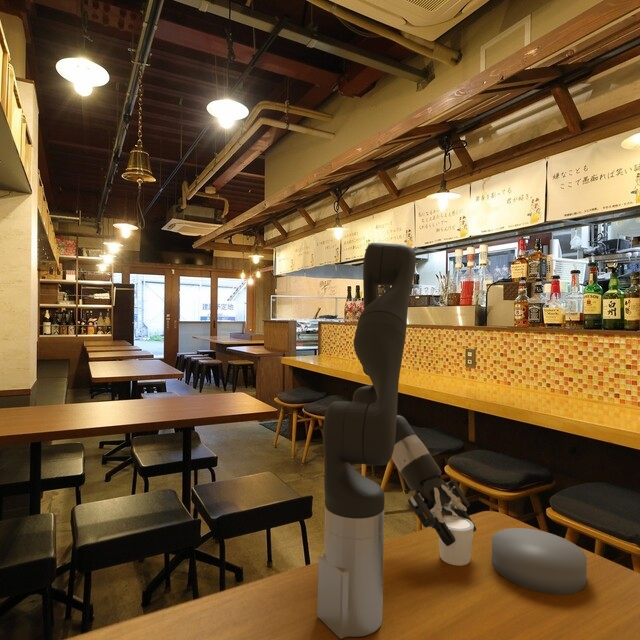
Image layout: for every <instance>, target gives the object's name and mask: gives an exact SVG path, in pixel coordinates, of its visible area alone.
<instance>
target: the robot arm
mask: <svg viewBox="0 0 640 640" xmlns="http://www.w3.org/2000/svg"><path fill="white" fill-rule="evenodd" d="M416 260H417V258H416V252H415V249H414V247H412V246H411V245H409V244H404V243H389V242H371V243H369V244H368V245H367V247H366V249H365V253H364V256H363V266H362V267H363V268H362V274H363V275H362V278H363V280H362V285H363V310H362V312H361V313H360V314H359V317H358V320H357V324H356V329H355V332H354V338H353V350H354V352H355V355H356V358H357V359H358V361H359V363H360V365H361V367H362V371H363V374H365V375H366V376H368V377H369V379H370V381H371V383H372V384H370V385H364V386H361V387H359V388H357V389H356V390H355V391H354V393H353V395H352V401H345V400H337V401H336V400H335V401H333V402H331V403H330V404H329V405H328V406H327V407H326V411H325V414H324V418H323V427H322V428H323V429H322V437H323V438H322V445H323V468H324V469H323V471H324V473H323V474H324V475H323V485H324V486H323V488H324V489H323V490H324V530H323V533H324V534H323V537H324V538H323V553H321V554H320V555H318V561H317V562H318V565H317V566H318V567H317V571H318V572H317V573H318V574H317V615H316V616H317V618H318V619H319V620H321V622H323V623H324V625H326V626H327V627H328V629H330V630H331V631H332V632H333V633H334V634H335V635H336V636H337V637H338V638H339V639H340V640H342V639H344V638H347V637H353V638H356V637H357V638H358V637H359V638H360V637H365V636H369V635H371V634H373V633H375V632H376V631H377V630H379V628H380V627H381V626H382V623H383V608H384V607H383V603H384V602H383V599H384V598H383V597H384V593H383V592H384V551H385V550H384V548H385V547H384V545H385V543H384V542H385V541H384V540H385V539H384V538H385V501H386V500H385V492H384V489H383V487H381V485H379V484H378V482H376V481H374V480H372V479H370V478H368V477H366V476H365V475H363V474H361V473H360V472H358V470H356V469H355V468H354V467H353V466H352V465H351V464H355V465H356V464H359V465H366V466H367V465H369V466H386V465H387V464H389V462H390V461H391V459H392V462H393V463H394V465H395V466H396V468H397V470H398V471H399V473H400V474H401V477H402V478H403V479H404V481H405V483H406V485H407V486H408V488H409V489H410V491H411V492H415V493H414V494H413V495H412V496H411V497H409V498H408V499H407V503H408V504H409V506H410V507H411V508H412V510H413V512H414V514H415V515H416V516H417V518H418V519H419V521H420V522H421V524H422V526H423V527H424V528H428V527H431V528H432V529H434V530H435V531H436V533H437V535H439V536H440V538H441V540H442V541H443V543H444V544H445V545H446V546H449V545H451V544H453V543H454V542H455V538H454V536H453V535H452V533H451V532H450V530H449V528H448V527H447V525H446V524H445V522H444V523H442V522H443V519H442V516H443V514H442V511H443V509H445V510H446V511H449V512H451V513H452V515H454V516H460V517H463V518H466V519H468V520H470V521H471V522H472V523H473V525H474V530H473V533H475V532H476V531H477V527H476V525H475V523H474V522H473V520H472V519H471V517H470V516H469V514H468V513H467V511H468V510H467V508H468V507H470V502H469V500H467V499H468V498H467V497H466V496H465V494H464V492H463V491H462V489H461V488H460V486H459V485H458V483H457V482H456V480H455V479H454V478H453V479H451V480H449V481H448V482H445V481H444V480H443V479H442V477H441V474H442V470H441V468H440V467H439V465H438V464H437V462H436V461H435V459H434V458H433V456H432V454H431V453H430V451H429V450H428V448H427V447H426V445H425V444H424V443H423V441H421V439H420V438H419V437H418V435H417V433H415V431H414V430H413V428H412V426H411V425H410V423H409V422H408V420H407V419H406V417H404V416H402V415H398V398H399V386H400V385H399V382H400V374H401V367H402V360H403V355H404V351H405V344H406V343H405V342H406V334H407V327H408V326H407V325H408V310H409V301H410V296H411V291H412V287H413V283H414V282H413V281H414V277H415V272H416V263H417V261H416ZM378 286H386V287H389V288H388V289H387V290H386V291H385V292H383V293H382V294H380V295H379V296H378ZM459 499H460V500H461V502H460V500H459ZM424 514H425V515H424ZM439 536H438V537H439Z"/></svg>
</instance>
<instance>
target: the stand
mask: <svg viewBox="0 0 640 640" xmlns="http://www.w3.org/2000/svg"><path fill="white" fill-rule="evenodd" d="M587 560H588V558H587V555H586V553H585V551H583V550H582V549H581V548H580V547H579V546H578V545H576V544H575V543H573V542H572V541H569V540H567V539H565V538H564V537H561V536H558V535H556V534H554V533H550V532H547V531H543V530H538V529H533V528H527V527H525V528H524V527H509V528H505V529H499V531H497V532H495V533H494V534H493V535H492V538H491V563H492V566H493V568H494V569H495V571H497V572H498V574H500V575H501V576H502V577H504V578H505V580H506V579H507V580H508V581H509V582H512V584H513V583H514V584H515V585H517V586H519V587H522V588H525V589H528V590H531V591H534V592H538V593H542V594H550V595H562V596H563V595H573V594H576V593H579V592H581V591H582V590H584V589H585V587H586V585H587V576H588V575H587V573H588V572H587V571H588V570H587V569H588V568H587V567H588V566H587V565H588V561H587Z"/></svg>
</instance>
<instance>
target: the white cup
mask: <svg viewBox="0 0 640 640" xmlns="http://www.w3.org/2000/svg"><path fill="white" fill-rule="evenodd" d="M442 519H443V522H442V523H444V522H445V524H446V525H447V527H448V528H449V530H450V532H451V533H452V535H453V536H454V538H455V542H454V543H453V544H451V545H449V546H446V545H445V544H444V543H443V541H442V540H441V538H440V536H439V535H438V534H437V535H438V545H439V546H438V547H439V557H440V559H441V560H442V561H443V562H444V563H447V564H449V565H452V566H460V567H462V566H467V565H468V564H469V563H470V561H471V553H472V548H473V547H472V546H473V545H472V544H473V539H474V538H473V537H474V532H473V530H474V525H475V524H474V525H473V523H474V522H473V521H472V522H473V523H472V522H471V521H470V520H468V519H466V518H463V517H460V516H456V515H454V514H451V515H449V514H448V515H442Z"/></svg>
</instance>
